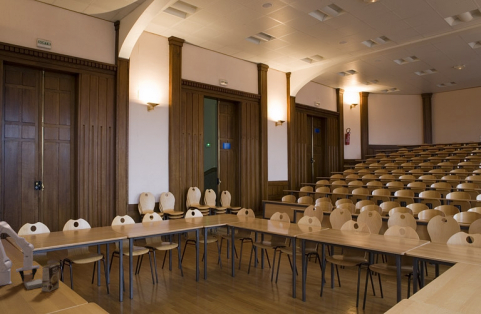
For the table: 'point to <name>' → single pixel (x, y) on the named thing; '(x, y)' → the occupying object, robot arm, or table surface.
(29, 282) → the grey box
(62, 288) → the table surface
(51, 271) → the coffee box
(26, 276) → the walnut block
